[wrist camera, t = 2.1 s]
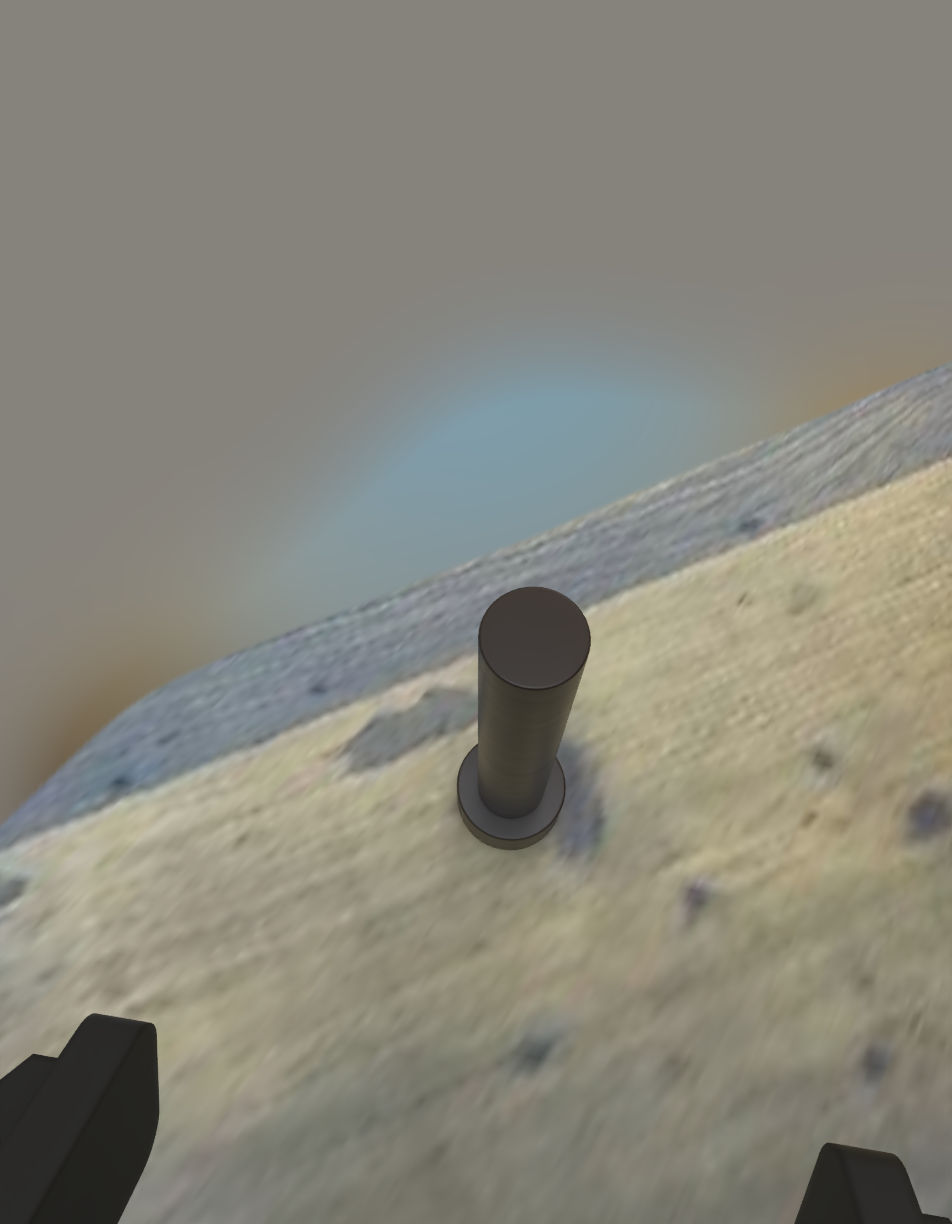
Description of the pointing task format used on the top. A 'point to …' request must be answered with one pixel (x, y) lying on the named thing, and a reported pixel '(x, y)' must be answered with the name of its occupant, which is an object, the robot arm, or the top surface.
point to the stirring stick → (522, 716)
